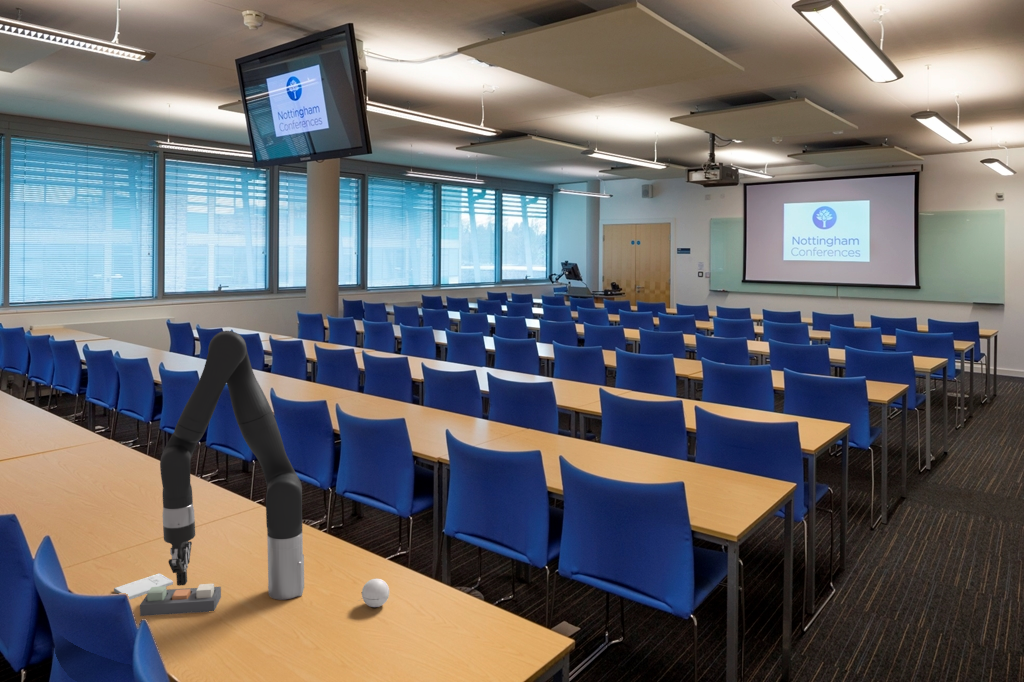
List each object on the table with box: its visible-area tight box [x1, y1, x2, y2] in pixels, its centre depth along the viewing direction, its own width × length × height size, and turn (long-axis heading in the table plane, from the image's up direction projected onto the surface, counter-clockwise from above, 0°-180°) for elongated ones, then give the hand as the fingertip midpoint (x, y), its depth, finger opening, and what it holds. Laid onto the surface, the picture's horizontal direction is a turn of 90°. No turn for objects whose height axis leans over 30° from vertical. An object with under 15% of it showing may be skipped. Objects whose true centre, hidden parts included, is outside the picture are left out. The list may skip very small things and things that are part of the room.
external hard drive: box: [113, 573, 174, 601], centre depth 197 cm, size 2×8×12 cm
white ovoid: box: [359, 578, 390, 608], centre depth 188 cm, size 10×7×7 cm
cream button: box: [196, 583, 215, 598], centre depth 188 cm, size 4×4×3 cm
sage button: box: [146, 586, 167, 601], centre depth 185 cm, size 4×4×3 cm
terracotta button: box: [172, 588, 191, 600], centre depth 187 cm, size 4×4×3 cm
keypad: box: [139, 586, 222, 617], centre depth 187 cm, size 18×8×3 cm, turn 100°
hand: (182, 584), depth 186 cm, fingers closed
